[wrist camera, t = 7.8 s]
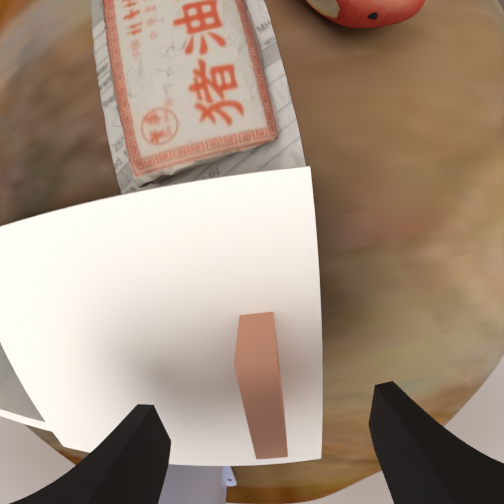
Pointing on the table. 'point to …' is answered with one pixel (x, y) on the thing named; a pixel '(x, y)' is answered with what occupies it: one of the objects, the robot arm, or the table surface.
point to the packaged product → (192, 90)
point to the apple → (366, 11)
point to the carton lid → (174, 316)
